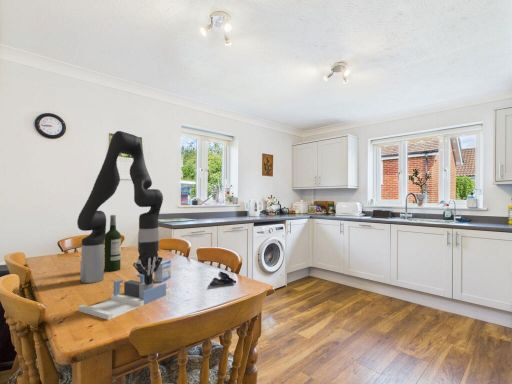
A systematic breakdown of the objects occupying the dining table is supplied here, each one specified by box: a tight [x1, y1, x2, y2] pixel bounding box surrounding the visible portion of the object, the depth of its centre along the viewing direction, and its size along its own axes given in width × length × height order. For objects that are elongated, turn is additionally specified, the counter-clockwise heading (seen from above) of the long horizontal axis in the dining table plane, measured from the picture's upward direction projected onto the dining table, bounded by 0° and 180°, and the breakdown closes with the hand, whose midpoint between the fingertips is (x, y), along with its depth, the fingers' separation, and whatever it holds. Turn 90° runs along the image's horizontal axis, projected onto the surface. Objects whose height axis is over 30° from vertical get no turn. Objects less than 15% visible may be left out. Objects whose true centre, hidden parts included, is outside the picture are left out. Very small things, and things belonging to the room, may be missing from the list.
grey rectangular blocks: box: [123, 279, 154, 299], centre depth 110 cm, size 12×4×5 cm, turn 64°
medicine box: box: [153, 259, 172, 283], centre depth 133 cm, size 8×4×9 cm, turn 168°
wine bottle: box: [104, 214, 122, 273], centre depth 151 cm, size 8×8×30 cm
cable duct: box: [77, 273, 170, 321], centre depth 104 cm, size 16×26×7 cm, turn 154°
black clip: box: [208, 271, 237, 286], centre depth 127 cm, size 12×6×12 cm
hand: (148, 284), depth 108 cm, fingers closed
